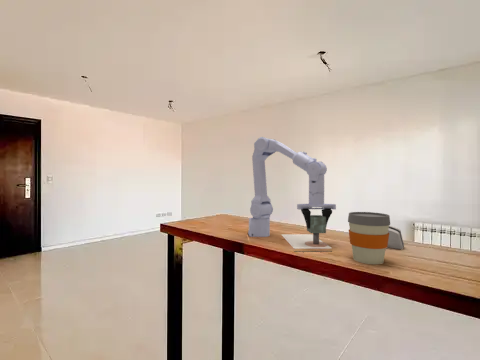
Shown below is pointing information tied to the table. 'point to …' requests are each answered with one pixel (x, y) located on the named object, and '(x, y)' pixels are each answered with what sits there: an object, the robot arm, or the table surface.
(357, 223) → the reusable coffee cup
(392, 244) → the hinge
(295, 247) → the post board
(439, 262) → the table surface
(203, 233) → the table surface
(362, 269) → the table surface
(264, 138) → the robot arm
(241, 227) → the table surface
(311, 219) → the collar
